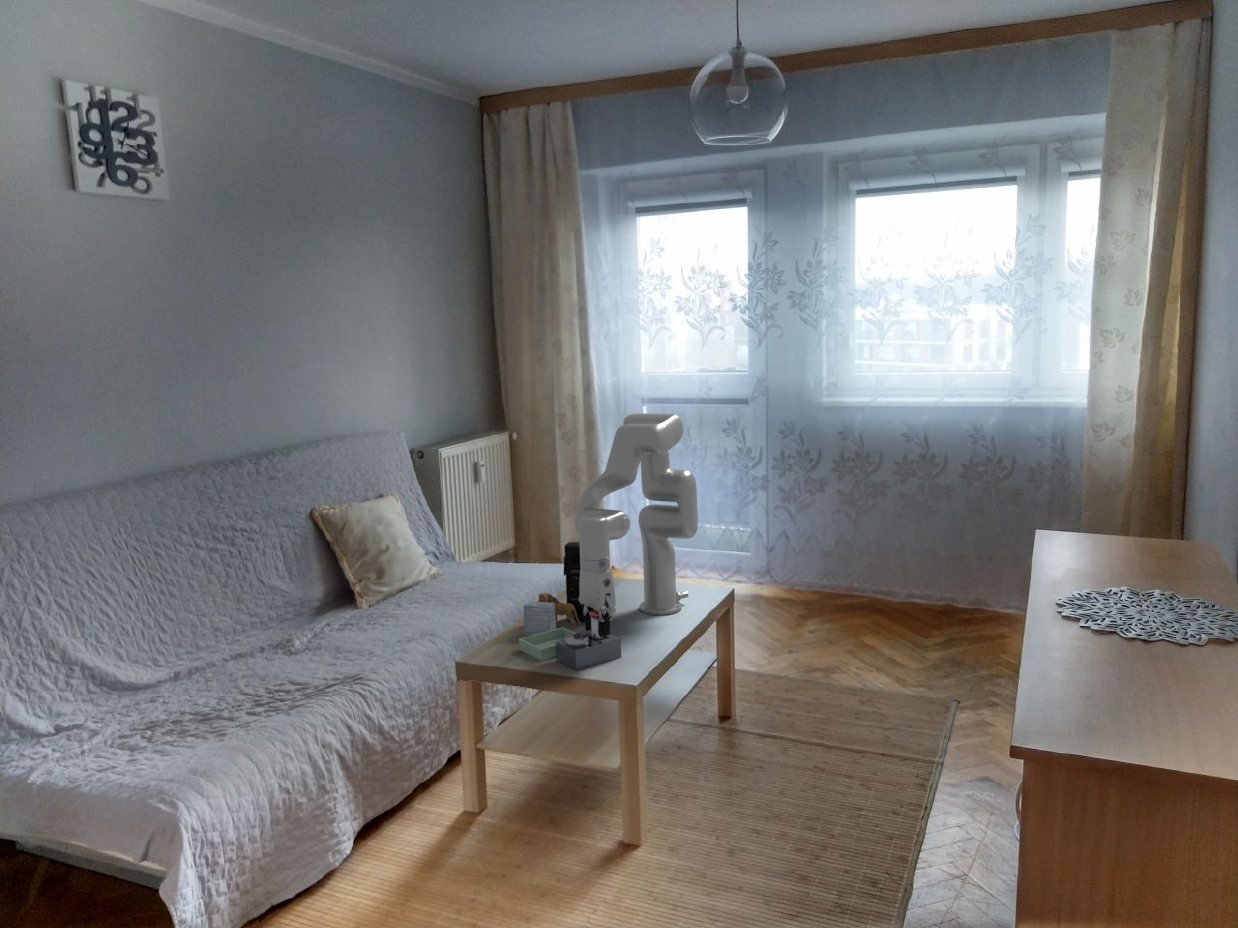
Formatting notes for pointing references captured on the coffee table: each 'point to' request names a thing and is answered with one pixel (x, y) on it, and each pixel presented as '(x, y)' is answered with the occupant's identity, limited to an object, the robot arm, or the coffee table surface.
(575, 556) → the portable radio
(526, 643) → the tray
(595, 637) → the pin
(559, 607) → the lion figurine
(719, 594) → the coffee table surface
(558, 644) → the block
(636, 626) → the coffee table surface
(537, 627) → the medicine box
